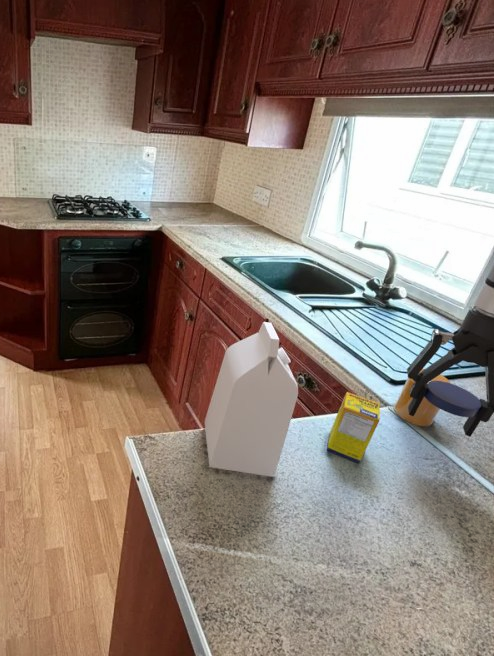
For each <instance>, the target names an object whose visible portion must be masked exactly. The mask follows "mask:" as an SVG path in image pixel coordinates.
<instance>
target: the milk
mask: <svg viewBox="0 0 494 656" xmlns="http://www.w3.org/2000/svg"><path fill="white" fill-rule="evenodd" d="M290 363H292V362H291V358H290V357H289V355H288V354H287V352H286V351H285V349H284V348H283V347H280V338H279V336H278V334H277V331H276V330H275V328H274V326H273V324H272V322H268V321H262V323H261V326H260V328H259V330H258V332H256V333H254V334H252V335H249V336H248V337H244V338H243V339H241V340H239V341H237V342H235V343H233V344H231V345H230V346H229V347H227V349H226V350H225V352H224V356H223V359H222V363H221V365H220V368H219V372H218V374H217V375H218V376H217V378H216V382H215V386H214V388H213V392H212V395H211V399H210V402H209V405H208V409H207V412H206V415H205V418H204V430H205V440H206V449H207V456H208V463H209V464H208V465H209V468H211V469H218V470H219V469H220V470H227V471H233V472H239V473H244V474H245V473H246V474H250V475H251V474H252V475H258V476H264V477H272V478H275V475H276V472H277V469H278V465H279V461H280V459H281V454H282V452H283V448H284V445H285V441H286V438H287V435H288V431H289V427H290V424H291V420H292V417H293V414H294V411H295V407H296V404H297V400H298V397H299V385H298V382H297V381H296V378H295V376H294V374H293V372H292V369H291V368H290V366H289V364H290Z"/></svg>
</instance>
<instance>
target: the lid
mask: <svg viewBox="0 0 494 656" xmlns="http://www.w3.org/2000/svg"><path fill="white" fill-rule="evenodd" d="M427 384H428V391H427V392H426V394H425V396H424V397H425V398H426V399H427V400H428V401H429V402H430V403H432V404H433V405H434V406H436V407H438V408H439V409H440V411H444V412H446V413H448V414H450V415H453V416H457V417H462V418H468V417H474V416H476V415H477V413H478V412H479V410H480V408H481V406H482V404H481V402H480V398H479V397H477V396H476V395H474V394H473V393H471V392H470V391H468V390H467V389H465V388H463V387H460V386H458V385H456V384H453V383H451V382H450V383H447V382H443V381H430V382H428V383H427Z"/></svg>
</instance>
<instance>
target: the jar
mask: <svg viewBox="0 0 494 656" xmlns="http://www.w3.org/2000/svg"><path fill="white" fill-rule="evenodd" d="M425 369H426V368H423V369H422V370H421V371H420V372H422V371H423V370H425ZM431 381H443V382H447V383H451V382H450V380H449V379H448V378H446V377H445V376H444V375H442V374H440V375H438V376H437V377H435V378H434V379H432V380H431ZM413 383H414V380H413V379H410V378H408V377H407V379H406V381H405V383H404V385H403V387H402V389H401V391H400V393H399V395H398V397H397V399H396V401H395V402H394V405H393V412H394V413H395V414H396V415H397V416H398V417H399V418H400V419H402V420H404V421H405V422H408V423H410V424H413V425H415V426H419V427H430V426H432V425H433V423H434V421H435V419H436V417H437V416H438V414H439V413H440V411H441V409H439V408H438V407H436V406H434V405H433V404H432V403H430V402H429V401H428V400H427V399H426V398H425V397H424V398H423V400H422V402H421V404H420V405H419V407H418V409H417V411H416V413H415V415H414V416H411V415H409V410H408V407H409V405H410V403H411V401H412V399H413V398H412V397H410V389H411V387H412V385H413Z"/></svg>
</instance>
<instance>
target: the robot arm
mask: <svg viewBox="0 0 494 656" xmlns="http://www.w3.org/2000/svg"><path fill="white" fill-rule="evenodd" d="M450 341H451V342H452V344H453V346H454V347H452V348H450V350H448V351H447V353H446V354H445V355H443V356H442V357H440V358H439V359H437V360H436V361H435V362H433V363H432V364H430V365H428V367H426V365H427V364H428V363H429V362H430V361H431V360H432V358H433V357H434V356H435V355H436V354H437V353H438V352H439V349H440V348H441V346H445V345H446V344H447V343H448V342H450ZM462 362H466V363H471V364H475V365H477V366H479V367H482V368H484V373H485V375H484V376H485V390H486V394H485V396H486V400H485V399H484V398H483V399H482V398H479V400H480V402H481V404H482V406H481V408H480V410H479V412H478V413H477V415H476V416H474V417H467V418H466V421H465V422H464V424H463V426H462V429H463V431H464V435H465V436H467V437H472V435H473V434H474V432H475V431H476V429H477V427H478V426H479V424H480V423H481V422H483V423H487V422H489V421H490V419H491V418H492V416H493V415H494V264H492V267H491V269H490V270H489V273H488V274H487V276H486V279H485V280H484V283H483V284H482V286H481V288H480V290H479V291H478V293H477V295H476V296H475V299H474V300H473V306H471V307H470V308H469V309H468V311H467V312H466V314H465V317H464V319H463V320H462V322H461V325H460V326H459V328H458V329H457V330H455V331H453V332H452V333H451V332H447V331H446V332H445V331H442V330H441V329H440V328H435V329H433V330H432V333H431V337H430V340H429V341H428V342H427V344H426V345H425V346H424V348H422V350H421V351H420V352H419V354H418V355H417V356H416V357H415V358H414V360H413V361H412V362H411V364H409V366H408V367H407V369H406V374H407V379H408V378H410V379H413V380H414V383H413V385H412V387H411V389H410V397H412V398H413V399H412V401H411V403H410V405H409V407H408V410H409V415H411V416H414V415H415V413H416V411H417V409H418V407H419V405H420V404H421V402H422V400H423V398H424V396H425V394H426V392H427V391H428V384H427V383H428V382H430V381H431V380H432V379H434V378H435V377H437V376H438V375H442V374H443V373H445V372H446V371H447V370H449V369H450V368H452V367H453V366H455V365H458V364H460V363H462ZM425 367H426V368H425ZM422 369H425V370H423V371H422V372H420V371H421V370H422Z"/></svg>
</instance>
